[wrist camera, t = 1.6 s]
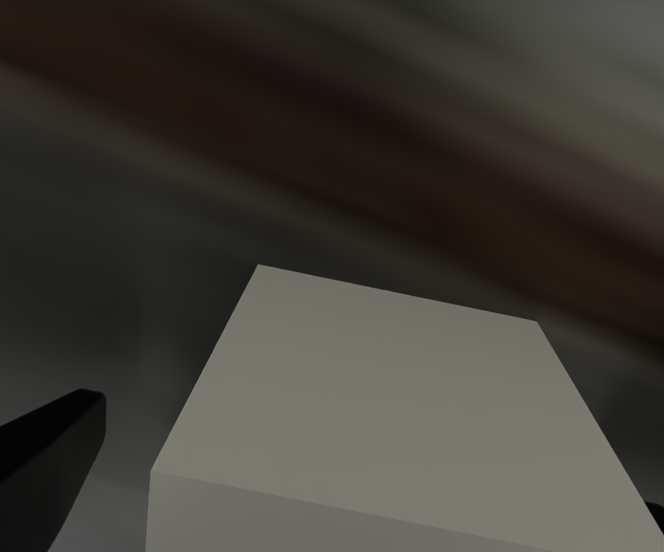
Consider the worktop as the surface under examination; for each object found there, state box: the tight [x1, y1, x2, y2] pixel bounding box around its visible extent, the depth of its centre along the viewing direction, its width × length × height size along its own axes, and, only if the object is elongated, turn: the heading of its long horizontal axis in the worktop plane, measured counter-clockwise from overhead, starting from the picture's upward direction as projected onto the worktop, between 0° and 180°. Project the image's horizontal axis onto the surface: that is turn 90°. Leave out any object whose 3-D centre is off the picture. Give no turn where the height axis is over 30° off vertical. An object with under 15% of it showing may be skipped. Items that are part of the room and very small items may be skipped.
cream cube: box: [145, 264, 664, 552], centre depth 8 cm, size 5×5×5 cm
